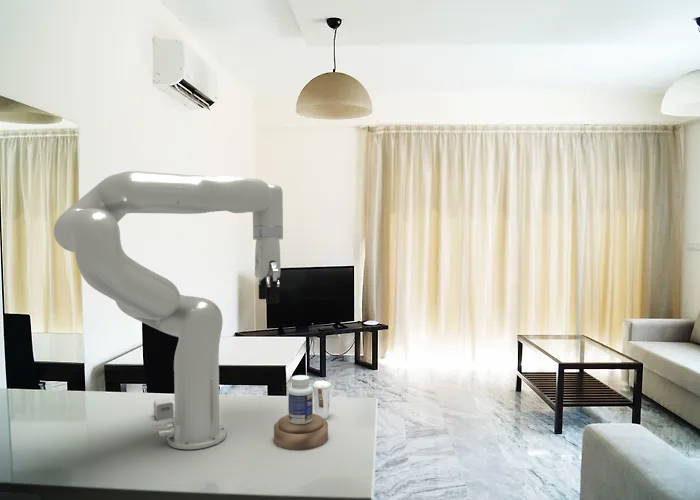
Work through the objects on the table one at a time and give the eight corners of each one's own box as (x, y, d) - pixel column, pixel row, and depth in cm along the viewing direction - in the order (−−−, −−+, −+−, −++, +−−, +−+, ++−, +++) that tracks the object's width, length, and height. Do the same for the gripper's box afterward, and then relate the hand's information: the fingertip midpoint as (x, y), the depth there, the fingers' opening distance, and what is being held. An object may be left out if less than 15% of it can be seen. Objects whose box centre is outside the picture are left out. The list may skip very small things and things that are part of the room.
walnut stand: (283, 454, 100) (283, 435, 100) (267, 433, 111) (267, 416, 111) (336, 443, 105) (336, 425, 105) (316, 424, 116) (316, 408, 116)
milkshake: (333, 420, 119) (333, 380, 119) (311, 420, 119) (311, 380, 119) (334, 414, 123) (334, 375, 123) (313, 414, 124) (313, 375, 123)
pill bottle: (311, 425, 105) (311, 380, 105) (286, 425, 105) (286, 380, 105) (313, 416, 111) (313, 374, 111) (290, 416, 111) (290, 374, 111)
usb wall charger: (156, 421, 119) (156, 404, 119) (152, 412, 125) (152, 397, 125) (173, 417, 122) (173, 402, 121) (168, 409, 127) (168, 394, 127)
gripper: (247, 234, 129) (248, 298, 130) (259, 233, 113) (260, 306, 113) (275, 234, 132) (275, 296, 132) (290, 233, 116) (291, 304, 116)
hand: (268, 301), depth 123 cm, fingers open, 9 cm apart
